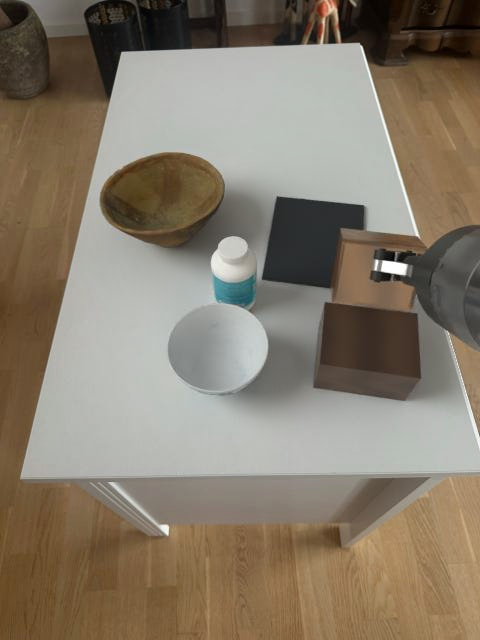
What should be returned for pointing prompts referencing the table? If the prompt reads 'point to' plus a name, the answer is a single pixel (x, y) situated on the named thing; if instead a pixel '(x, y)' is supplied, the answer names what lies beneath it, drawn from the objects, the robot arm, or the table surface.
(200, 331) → the chinaware
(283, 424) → the table surface
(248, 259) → the pill bottle
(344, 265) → the wooden box
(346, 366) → the stand
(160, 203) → the bowl
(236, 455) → the table surface
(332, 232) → the mat
